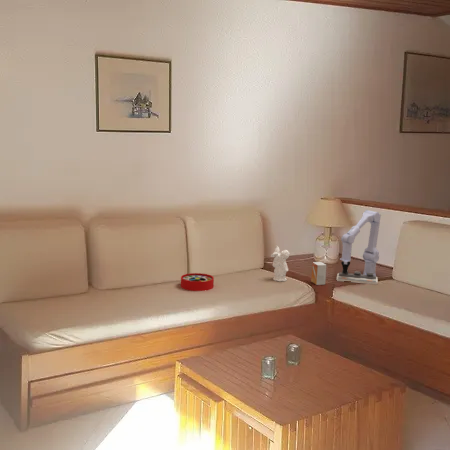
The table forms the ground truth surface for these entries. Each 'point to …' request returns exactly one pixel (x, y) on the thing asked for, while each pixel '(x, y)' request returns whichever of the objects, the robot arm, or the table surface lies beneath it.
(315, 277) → the small box
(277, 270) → the cherub figurine
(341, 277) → the switch panel
